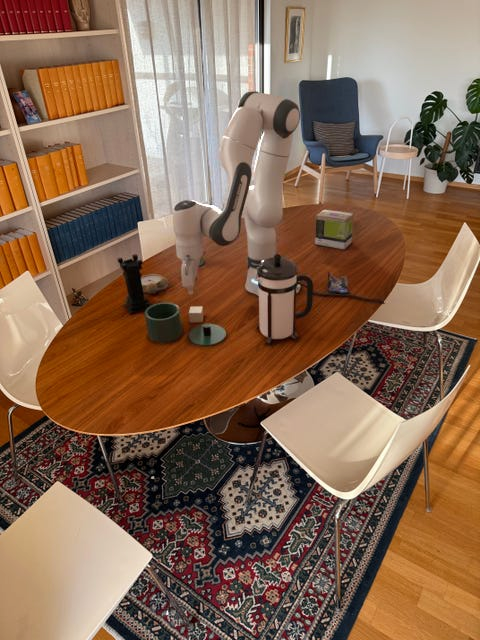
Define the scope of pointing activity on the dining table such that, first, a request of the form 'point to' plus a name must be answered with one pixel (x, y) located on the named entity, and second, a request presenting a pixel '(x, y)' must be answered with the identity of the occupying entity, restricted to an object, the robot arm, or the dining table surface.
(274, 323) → the coffee press
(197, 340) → the lid
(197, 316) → the block
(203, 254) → the cupcake
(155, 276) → the alarm clock
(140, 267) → the chess piece
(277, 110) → the robot arm
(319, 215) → the tea box
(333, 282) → the snack package
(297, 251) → the dining table surface
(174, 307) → the green hollow cylinder
